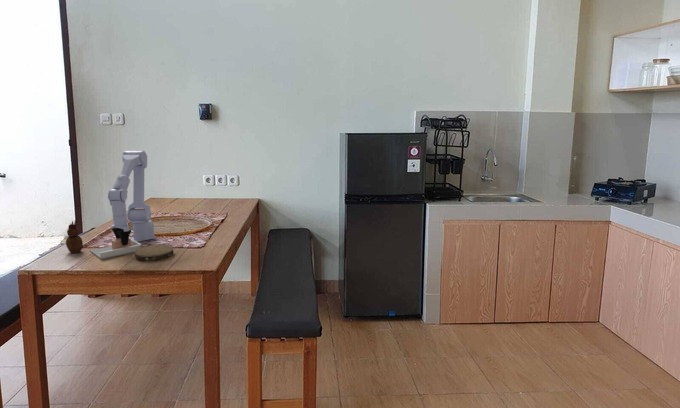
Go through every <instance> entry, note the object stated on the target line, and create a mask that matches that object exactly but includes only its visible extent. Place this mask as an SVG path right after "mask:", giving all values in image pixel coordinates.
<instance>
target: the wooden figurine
mask: <svg viewBox="0 0 680 408" xmlns="http://www.w3.org/2000/svg"><path fill="white" fill-rule="evenodd" d="M77 226H78V225H77V220H76V219H75V220H74V221H73V220H72V221H71V223H69V224H68V228H67V231H66V233H67V236H68V237H67V238H66V240H65V247H66V248H67V250H68V251H69V253H72V254H77V253H80V252H81V251H82V250H83V246H84V244H83V242H84V241H83V239H82V237H81V236H80V235H79V234H80V230H79V228H78V227H77Z"/></svg>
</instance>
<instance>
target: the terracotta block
mask: <svg viewBox="0 0 680 408" xmlns="http://www.w3.org/2000/svg"><path fill="white" fill-rule="evenodd" d="M130 238H131V237H129V240H128V245H124V246H123V245H122V242H121V238H119V239H116V238H115V239H114V238H113V239H111V246H112V250H115V249H120V248H125V247H130V246H131V239H130Z"/></svg>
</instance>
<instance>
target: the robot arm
mask: <svg viewBox="0 0 680 408" xmlns="http://www.w3.org/2000/svg"><path fill="white" fill-rule="evenodd" d="M121 158H122V162H123V164H122V169H121V172H120V175H117V177H116V179H115V182H114V185H113V188H111V189H110V190H108V193H107V198H108V201H109V205H110V207H111V210H112V213H111V214H112V220H113V221H112V225H110V227H111V231H112V232H113V234H114V236H115V239H119V238H121V242H122V245H123V246H124V245H128V240H129V238H131V239H133V240H135V241H137V242H138V243H140V242H142V241H148V240H149V241H150V240H155V239H156V237H155V226H154V223H153V221H152V220H151V217H152V212H151V206H150V205H149V204H148V203H146V202H145V170H146V168H148V155H147V153H146V151H145V150H124V151H123V152H122V155H121ZM132 173H133V179H132V180H133V183H132V185H133V193H132V194H133V195H132V196H133V197H132V199H133V201H132V203H131V204H129V205H128V207H127V205H126V201H127V200H128V188H129V185H130V182H131V179H130V177H131V174H132ZM128 221H130V224H131V225H132V226H131V227H132V230H131V229H129V228H130V227H129V223H128ZM131 233H132V237H130V235H131Z"/></svg>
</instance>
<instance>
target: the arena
mask: <svg viewBox="0 0 680 408" xmlns="http://www.w3.org/2000/svg"><path fill="white" fill-rule="evenodd" d="M129 238H130V239H131V238H132V237H129ZM142 247H143V244H142V243H140V242H137V241H135V240H133V239H131V246H130V247H125V248H120V249H115V250H112V245H110V246H105V247H101V248H95V249H92V250H89V252H90V253H91V254H92V255H94V256H96V258H99V259H100V260H105V259H110V258H111V259H112V258H115V257H116V258H117V257H120V256H124V255H129V254H135V251H136V250H138V249H140V248H142Z"/></svg>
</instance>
